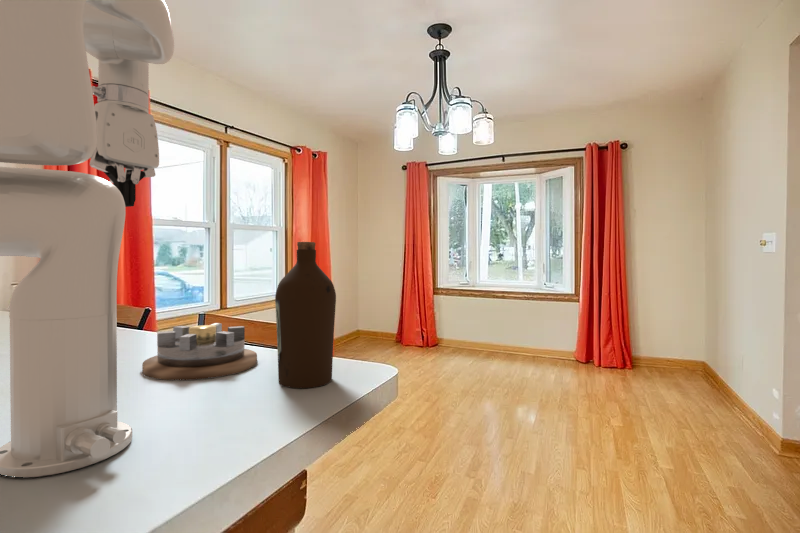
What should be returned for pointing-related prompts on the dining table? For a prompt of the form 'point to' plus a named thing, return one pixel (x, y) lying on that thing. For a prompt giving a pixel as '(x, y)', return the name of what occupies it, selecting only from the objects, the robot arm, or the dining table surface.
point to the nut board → (198, 368)
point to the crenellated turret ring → (200, 345)
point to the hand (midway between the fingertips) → (124, 205)
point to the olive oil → (305, 323)
